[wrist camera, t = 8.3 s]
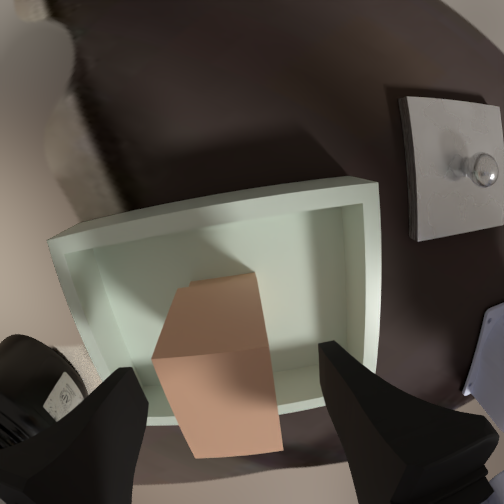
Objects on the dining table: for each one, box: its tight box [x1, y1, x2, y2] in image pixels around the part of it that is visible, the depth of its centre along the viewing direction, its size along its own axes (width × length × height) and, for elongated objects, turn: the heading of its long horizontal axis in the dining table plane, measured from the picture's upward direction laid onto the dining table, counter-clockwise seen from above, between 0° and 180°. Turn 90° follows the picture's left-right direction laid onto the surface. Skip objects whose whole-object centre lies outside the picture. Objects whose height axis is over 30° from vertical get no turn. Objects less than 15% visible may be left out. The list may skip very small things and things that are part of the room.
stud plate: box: [398, 96, 504, 242], centre depth 14 cm, size 8×8×4 cm
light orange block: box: [151, 272, 283, 458], centre depth 13 cm, size 3×5×8 cm, turn 8°
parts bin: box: [47, 176, 381, 425], centre depth 15 cm, size 12×15×4 cm
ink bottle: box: [0, 334, 88, 504], centre depth 13 cm, size 10×9×12 cm
